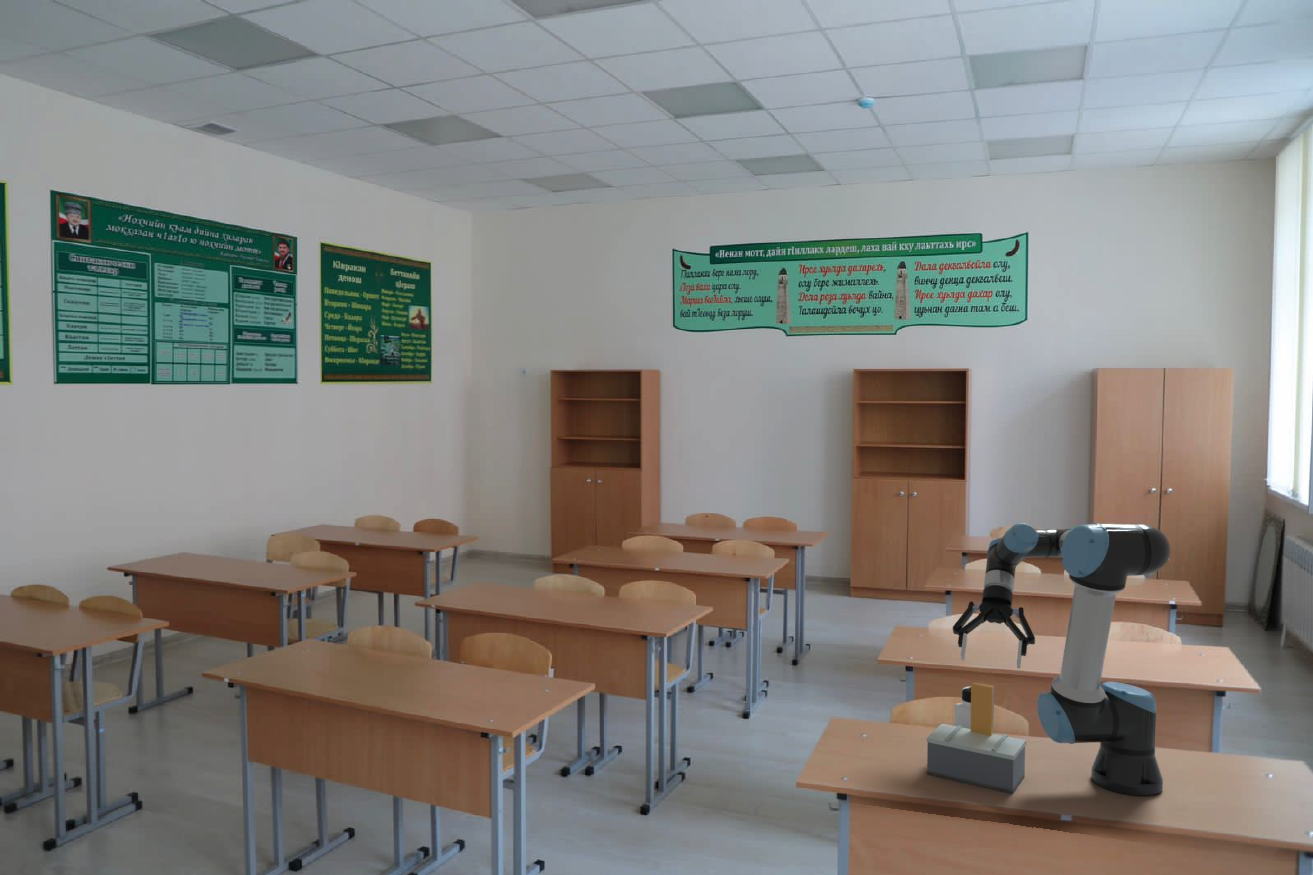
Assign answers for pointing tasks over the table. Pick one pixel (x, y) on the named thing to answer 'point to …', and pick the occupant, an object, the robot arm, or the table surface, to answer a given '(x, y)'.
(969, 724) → the medicine bottle
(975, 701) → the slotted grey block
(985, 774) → the tub
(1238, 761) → the table surface
